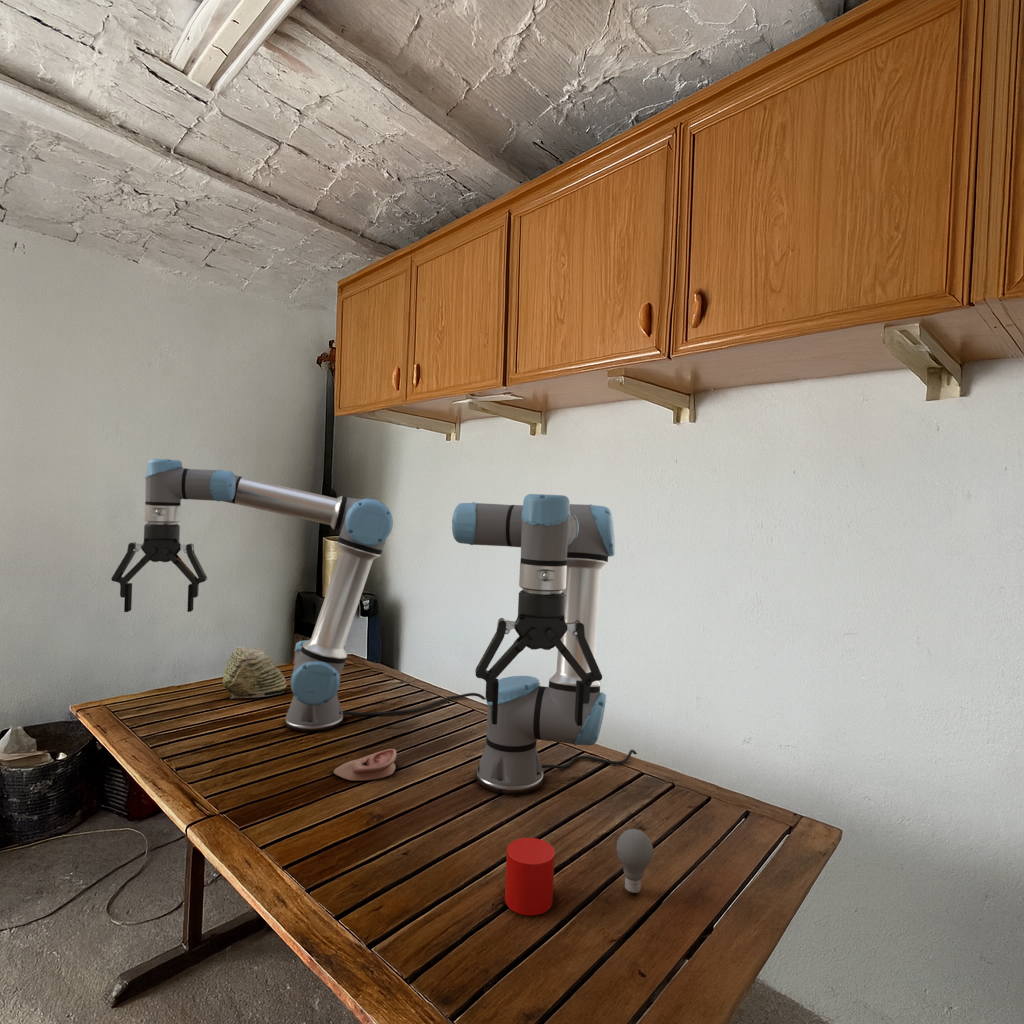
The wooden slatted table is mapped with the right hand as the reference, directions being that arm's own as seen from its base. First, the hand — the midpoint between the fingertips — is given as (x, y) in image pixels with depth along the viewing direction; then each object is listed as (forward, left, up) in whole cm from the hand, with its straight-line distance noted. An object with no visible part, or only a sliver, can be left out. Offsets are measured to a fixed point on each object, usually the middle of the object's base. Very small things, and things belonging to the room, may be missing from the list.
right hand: (536, 722), depth 102 cm
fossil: (+33, -123, -29) cm, 130 cm away
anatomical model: (+13, -56, -29) cm, 65 cm away
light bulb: (-17, +5, -29) cm, 34 cm away
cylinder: (0, 0, -29) cm, 29 cm away
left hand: (+58, -85, +5) cm, 103 cm away
